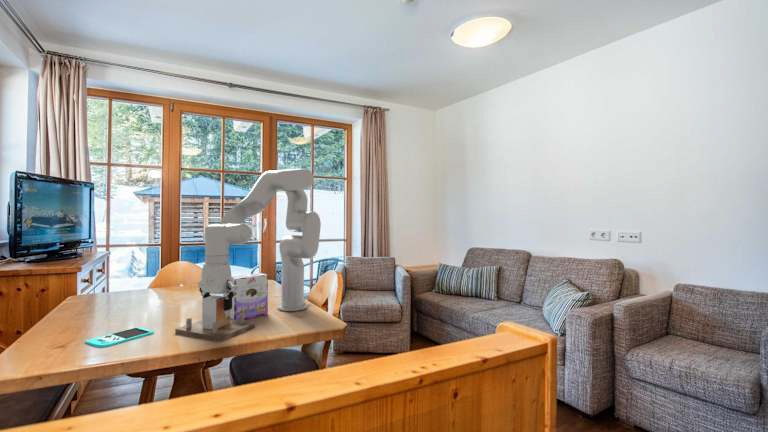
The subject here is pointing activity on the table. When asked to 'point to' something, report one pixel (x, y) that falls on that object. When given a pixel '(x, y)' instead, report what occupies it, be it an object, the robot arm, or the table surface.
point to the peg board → (221, 330)
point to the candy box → (250, 296)
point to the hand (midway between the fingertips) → (217, 308)
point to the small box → (214, 312)
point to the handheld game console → (119, 337)
